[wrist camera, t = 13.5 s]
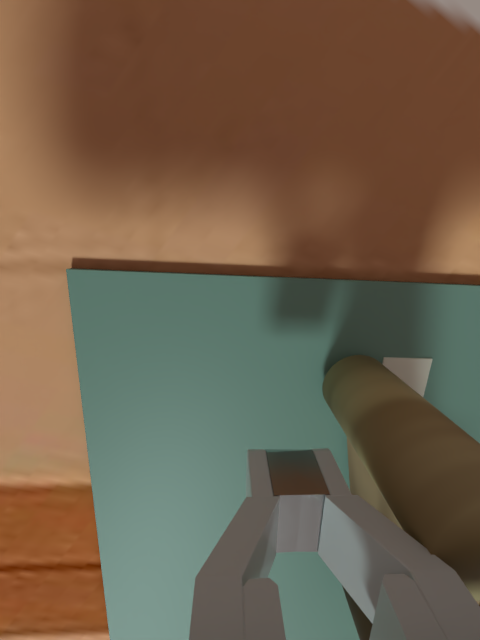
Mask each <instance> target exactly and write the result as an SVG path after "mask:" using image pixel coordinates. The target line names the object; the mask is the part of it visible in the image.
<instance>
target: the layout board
mask: <svg viewBox="0 0 480 640" xmlns="http://www.w3.org/2000/svg"><path fill="white" fill-rule="evenodd" d="M66 272H67V280H68V289H69V297H70V306H71V314H72V323H73V331H74V339H75V348H76V356H77V365H78V373H79V382H80V390H81V399H82V407H83V416H84V424H85V432H86V441H87V449H88V458H89V466H90V475H91V483H92V492H93V500H94V509H95V517H96V525H97V534H98V542H99V551H100V559H101V568H102V576H103V585H104V593H105V602H106V610H107V619H108V627H109V635H110V640H189V634H190V624H191V614H192V604H193V595H194V585H195V577H196V576H197V574H198V573H199V571H200V569H201V568H202V566H203V565H204V563H205V562H206V560H207V558H208V557H209V555H210V554H211V552H212V550H213V549H214V547H215V546H216V544H217V543H218V541H219V539H220V538H221V536H222V535H223V533H224V531H225V530H226V528H227V527H228V525H229V524H230V522H231V520H232V519H233V517H234V516H235V514H236V512H237V511H238V509H239V508H240V506H241V505H242V503H243V501H244V500H245V498H246V466H247V450H248V449H264V450H265V449H292V450H297V449H310V450H311V449H321V448H328V449H329V450H330V451H331V453H332V455H333V457H334V459H335V461H336V463H337V465H338V467H339V469H340V471H341V473H342V475H343V477H344V479H345V482H346V484H347V486H348V488H349V490H350V483H349V466H348V449H347V436H346V434H345V433H344V431H343V429H342V428H341V426H340V424H339V423H338V421H337V419H336V418H335V416H334V414H333V413H332V411H331V409H330V408H329V406H328V404H327V403H326V401H325V399H324V396H323V392H322V386H323V381H324V378H325V376H326V374H327V372H328V371H329V369H330V368H331V367H332V366H333V365H334V364H336V363H337V362H338V361H340V360H342V359H344V358H346V357H349V356H353V355H366V356H370V357H372V358H375V359H376V360H378V361H379V362H380V363H381V364H383V365H384V366H385V367H386V368H388V369H389V370H390V371H391V372H392V373H394V374H395V375H396V376H397V377H399V378H400V379H401V380H402V381H404V382H405V383H406V384H407V385H408V386H410V387H411V388H412V389H413V390H415V391H416V392H417V393H418V394H420V395H421V396H422V397H423V398H424V399H426V400H427V401H428V402H429V403H431V404H432V405H433V406H434V407H435V408H437V409H438V410H439V411H440V412H442V413H443V414H444V415H445V416H447V417H448V418H449V419H450V420H451V421H453V422H454V423H455V424H456V425H458V426H459V427H460V428H461V429H463V430H464V431H465V432H466V433H467V434H469V435H470V436H471V437H472V438H474V439H475V440H476V441H477V442H479V443H480V285H468V284H443V283H418V282H394V281H369V280H345V279H320V278H295V277H271V276H246V275H221V274H197V273H172V272H148V271H123V270H98V269H74V268H70V269H66ZM268 578H270V579H271V580H273V581H274V582H275V583H276V584H277V585H278V590H279V597H280V603H281V610H282V616H283V623H284V630H285V636H286V640H360V639H359V636H358V633H357V630H356V627H355V624H354V621H353V617H352V614H351V611H350V608H349V605H348V602H347V599H346V596H345V593H344V590H343V587H342V584H341V583H340V582H339V580H338V579H337V578H336V576H335V575H334V574H333V573H332V571H331V570H330V569H329V567H328V566H327V565H326V564H325V562H324V561H323V560H322V558H321V557H320V556H319V555H318V552H283V553H276V556H275V559H274V562H273V565H272V567H271V570H270V573H269V576H268Z"/></svg>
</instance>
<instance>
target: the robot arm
mask: <svg viewBox="0 0 480 640" xmlns="http://www.w3.org/2000/svg"><path fill="white" fill-rule="evenodd" d="M283 552H318V555H319V556H320V557H321V558H322V560H323V561H324V562H325V564H326V565H327V566H328V567H329V569H330V570H331V571H332V573H333V574H334V575H335V576H336V578H337V579H338V580H339V582H340V583H341V584H342V586H343V587H344V588H345V589H346V591H347V592H348V593H349V595H350V596H351V597H352V598H353V600H354V601H355V602H356V604H357V605H358V606H359V607H360V609H361V610H362V611H363V613H364V614H365V615H366V616H367V618H368V619H369V620H370V622H371V623H372V624H373V625H372V629H371V634H370V638H369V640H480V606H479V605H478V604H477V602H476V601H475V599H474V598H473V596H472V595H471V593H470V592H469V590H468V589H467V587H466V586H465V584H464V583H463V581H462V580H461V578H460V577H459V576H458V574H457V573H456V571H455V570H454V569H452V568H451V567H450V566H448V565H447V564H446V563H445V562H443V561H442V560H441V559H439V558H438V557H437V556H436V555H431V554H430V552H429V551H428V550H427V548H425V547H424V546H423V545H421V544H420V543H419V542H418V541H416V540H415V539H414V538H412V537H411V536H410V535H409V534H407V533H406V532H405V531H403V530H402V529H401V528H399V527H398V526H397V525H396V524H394V523H393V522H392V521H390V520H389V519H388V518H387V517H385V516H384V515H383V514H381V513H380V512H379V511H378V510H376V509H375V508H374V507H372V506H371V505H370V504H369V503H367V502H366V501H365V500H363V499H362V498H361V497H360V496H358V495H352V494H351V492H350V490H349V488H348V486H347V484H346V482H345V479H344V477H343V475H342V473H341V471H340V469H339V467H338V465H337V463H336V461H335V459H334V457H333V455H332V453H331V451H330V450H329V449H328V448H321V449H311V450H310V449H297V450H292V449H265V450H264V449H248V450H247V466H246V498H245V500H244V501H243V503H242V505H241V506H240V508H239V509H238V511H237V512H236V514H235V516H234V517H233V519H232V520H231V522H230V524H229V525H228V527H227V528H226V530H225V531H224V533H223V535H222V536H221V538H220V539H219V541H218V543H217V544H216V546H215V547H214V549H213V550H212V552H211V554H210V555H209V557H208V558H207V560H206V562H205V563H204V565H203V566H202V568H201V569H200V571H199V573H198V574H197V576H196V577H195V585H194V595H193V604H192V614H191V624H190V634H189V640H286V636H285V630H284V623H283V616H282V610H281V603H280V597H279V590H278V585H277V584H276V583H275V582H274V581H273V580H271V579H270V578H268V576H269V573H270V570H271V567H272V565H273V562H274V559H275V556H276V553H283Z"/></svg>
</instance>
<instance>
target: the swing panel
mask: <svg viewBox="0 0 480 640" xmlns="http://www.w3.org/2000/svg"><path fill="white" fill-rule="evenodd" d="M322 392H323V396H324V399H325V401H326V403H327V404H328V406H329V408H330V409H331V411H332V413H333V414H334V416H335V418H336V419H337V421H338V423H339V424H340V426H341V428H342V429H343V431H344V433H345V434H346V436H347V449H348V466H349V483H350V492H351V494H352V495H358V496H360V497H361V498H362V499H363V500H365V501H366V502H367V503H369V504H370V505H371V506H372V507H374V508H375V509H376V510H378V511H379V512H380V513H381V514H383V515H384V516H385V517H387V518H388V519H389V520H390V521H392V522H393V523H394V524H396V525H397V526H398V527H399V528H401V529H402V530H403V531H405V532H406V533H407V534H409V535H410V536H411V537H412V538H414V539H415V540H416V541H418V542H419V543H420V544H421V545H423V546H424V547H425V548H427V550H428V551H429V552H430V554H431V555H436V556H437V557H438V558H439V559H441V560H442V561H443V562H445V563H446V564H447V565H448V566H450V567H451V568H452V569H454V570H455V571H456V573H457V574H458V576H459V577H460V578H461V580H462V581H463V583H464V584H465V586H466V587H467V589H468V590H469V592H470V593H471V595H472V596H473V598H474V599H475V601H476V602H477V604H478V605H479V603H480V443H479V442H477V441H476V440H475V439H474V438H472V437H471V436H470V435H469V434H467V433H466V432H465V431H464V430H463V429H461V428H460V427H459V426H458V425H456V424H455V423H454V422H453V421H451V420H450V419H449V418H448V417H447V416H445V415H444V414H443V413H442V412H440V411H439V410H438V409H437V408H435V407H434V406H433V405H432V404H431V403H429V402H428V401H427V400H426V399H424V398H423V397H422V396H421V395H420V394H418V393H417V392H416V391H415V390H413V389H412V388H411V387H410V386H408V385H407V384H406V383H405V382H404V381H402V380H401V379H400V378H399V377H397V376H396V375H395V374H394V373H392V372H391V371H390V370H389V369H388V368H386V367H385V366H384V365H383V364H381V363H380V362H379V361H378V360H376V359H375V358H372V357H370V356H366V355H353V356H349V357H346V358H344V359H342V360H340V361H338V362H337V363H336V364H334V365H333V366H332V367H331V368H330V369H329V371H328V372H327V374H326V376H325V378H324V381H323V386H322Z"/></svg>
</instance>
